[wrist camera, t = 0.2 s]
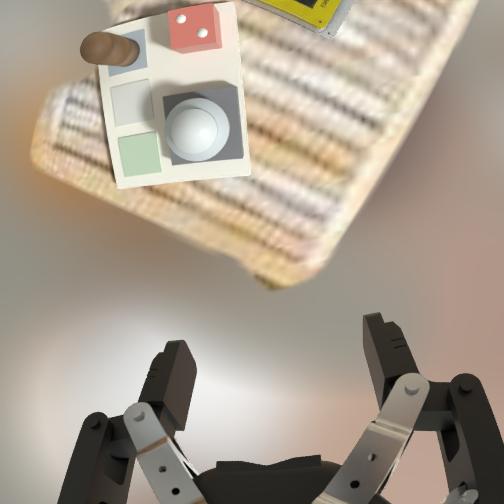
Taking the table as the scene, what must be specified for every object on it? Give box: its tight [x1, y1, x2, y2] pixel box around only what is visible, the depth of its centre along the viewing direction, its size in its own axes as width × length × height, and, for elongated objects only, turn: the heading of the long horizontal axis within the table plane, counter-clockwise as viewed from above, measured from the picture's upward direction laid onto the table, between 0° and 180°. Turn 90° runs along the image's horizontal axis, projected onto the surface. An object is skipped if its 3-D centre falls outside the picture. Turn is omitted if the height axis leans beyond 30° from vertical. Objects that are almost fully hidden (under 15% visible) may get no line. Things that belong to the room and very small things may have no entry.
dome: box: [164, 98, 230, 161], centre depth 31 cm, size 6×6×4 cm
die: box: [168, 3, 222, 54], centre depth 27 cm, size 4×4×5 cm
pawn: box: [80, 32, 140, 67], centre depth 26 cm, size 4×4×9 cm
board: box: [98, 2, 251, 189], centre depth 33 cm, size 21×17×4 cm
